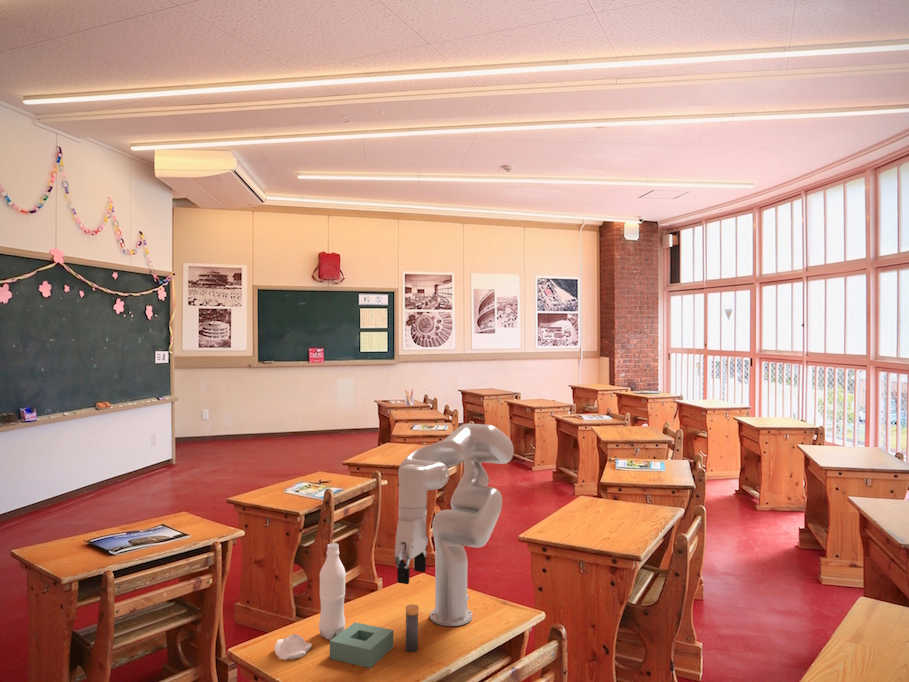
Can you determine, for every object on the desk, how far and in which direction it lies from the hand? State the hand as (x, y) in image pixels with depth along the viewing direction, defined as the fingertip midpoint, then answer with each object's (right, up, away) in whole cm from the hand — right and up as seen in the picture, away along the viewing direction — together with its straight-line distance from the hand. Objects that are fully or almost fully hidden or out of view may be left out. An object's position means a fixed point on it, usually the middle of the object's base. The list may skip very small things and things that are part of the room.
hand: (411, 577), depth 162 cm
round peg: (0, -19, 0) cm, 19 cm away
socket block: (-13, -19, -2) cm, 23 cm away
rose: (-31, -19, -2) cm, 37 cm away
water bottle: (-23, -19, +7) cm, 31 cm away
